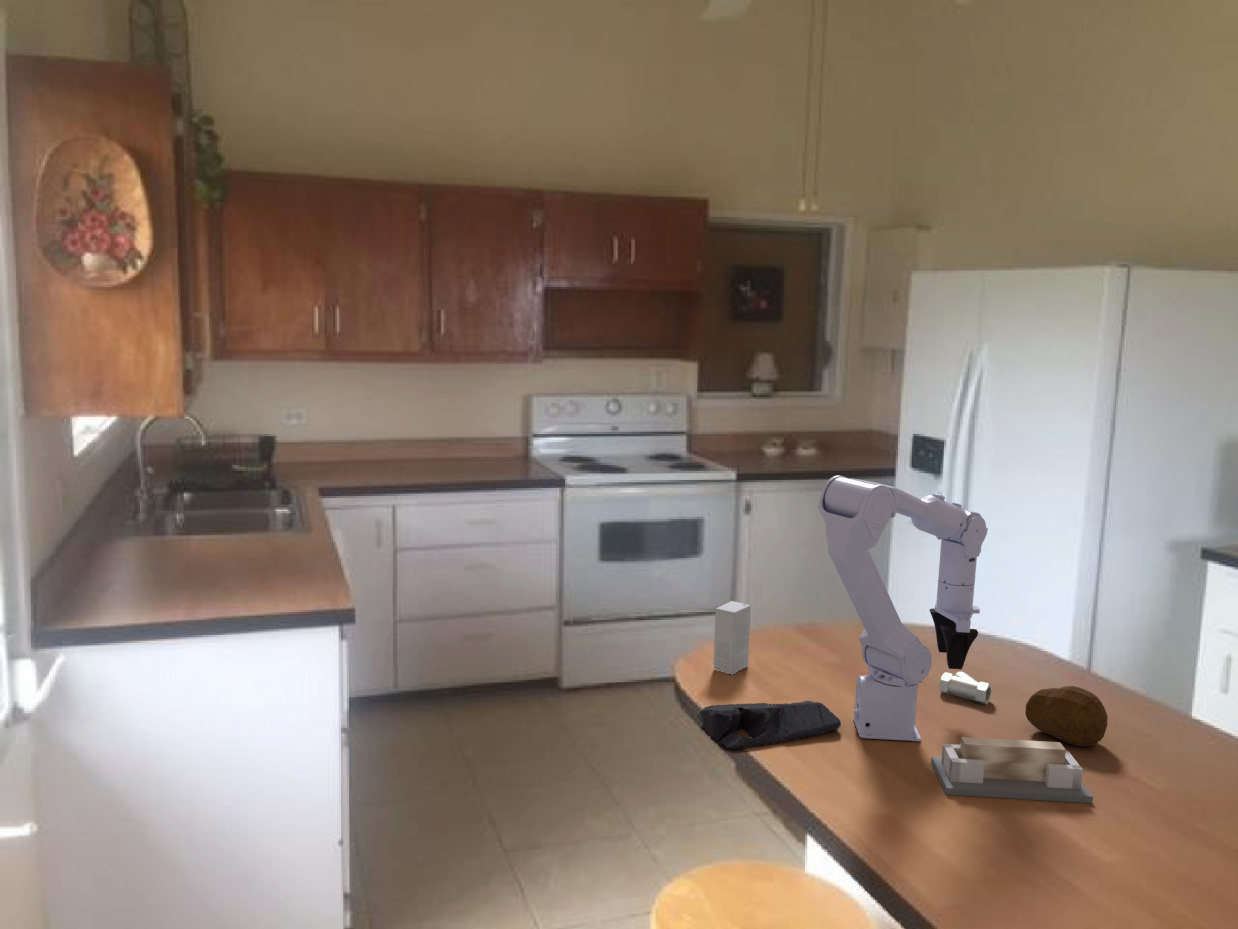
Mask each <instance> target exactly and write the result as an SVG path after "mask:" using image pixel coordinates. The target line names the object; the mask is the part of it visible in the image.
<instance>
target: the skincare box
mask: <svg viewBox="0 0 1238 929" xmlns="http://www.w3.org/2000/svg"><path fill="white" fill-rule="evenodd" d="M714 618H715V619H714V620H715V621H714V643H713V644H714V646H713V648H714V649H713V670H714V669H716V670H719V671H723V672H725V673H728V674H727V675H729V674H731V675H730V676H733V674H734V675H735V674H737V673H739V672H740V671H742V670H744V669H745V668H747V667H748V666H749V654H750V653H749V652H750V627H751V604H746V603H743V602H738V601H734V600H730V601H729V602H727V603H724V604H723V605H720V606H718V607H716V608H715V617H714ZM743 668H744V669H743ZM741 669H742V670H741ZM739 670H740V671H739ZM738 671H739V672H738ZM736 672H737V673H736ZM725 673H724V674H725Z"/></svg>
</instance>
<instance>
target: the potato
mask: <svg viewBox="0 0 1238 929" xmlns="http://www.w3.org/2000/svg"><path fill="white" fill-rule="evenodd" d="M1025 717H1026V719H1027V722H1028V723H1029V724H1031V725H1032V726H1033V727H1034V728H1036V729H1037V730H1038V731H1040V732H1042V733H1043V734H1044V733H1045V734H1047V735H1049V736H1051V737H1054V738H1057V739H1059V740H1060V741H1062V742H1064V743H1066V744H1067V745H1073V746H1082V747H1086V746H1093V745H1095V744H1097V743H1099V742H1101V741H1102V739H1103V738H1104V736H1105V734H1106V730H1107V728H1108V727H1107V726H1108V714H1107V712H1106V708H1105V705H1104V704H1103V702H1102V701H1101V700H1100V698H1099V697H1098V695H1095V693H1093V692H1091V691H1089V690H1087V689H1085V688H1083V687H1078V686H1075V685H1070V686H1069V685H1067V686H1063V687H1061V686H1060V687H1054V688H1053V687H1051V688H1044V689H1043V688H1042V689H1039V690H1038V691H1036V692H1034V693H1033V694H1032V695H1031V696H1030V697H1029V699H1028V700H1027V702H1026V703H1025Z"/></svg>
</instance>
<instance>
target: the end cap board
mask: <svg viewBox="0 0 1238 929" xmlns="http://www.w3.org/2000/svg"><path fill="white" fill-rule="evenodd" d="M941 750H942V751H941V756H931V757H930V760H931V761H930V764H931V766H932V768H933V770H934V772H935V774H936V777H937V778H938V780H939V783H940V784H941V788H942V789H943V791H944V793H945V795H947V796H948V795H949V796H965V797H981V798H999V799H1014V800H1015V799H1017V800H1030V801H1031V800H1034V801H1047V802H1048V801H1050V802H1051V801H1052V802H1064V803H1066V802H1067V803H1083V804H1084V803H1085V804H1093V799H1094V795H1092V793H1091V792H1090V791H1089V789H1088V788H1087V786H1086V785H1085V784H1084V782H1083V780H1082V778H1083V768H1082V766H1081V765H1080V764H1079V763H1078V762H1077V760H1076V759H1075V758H1074V757H1073V755H1072V754H1071V753H1070V751H1069V750H1066V753H1065V762H1064V765H1062V764H1047V769H1046V779H1045V782H1042V781H1025V780H1008V779H991V778H983V776H984V766H985V763H984V762H983V760H975V759H959V756H960V744H951V743H949V744H948V743H943V744H942V749H941Z"/></svg>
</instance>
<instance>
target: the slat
mask: <svg viewBox="0 0 1238 929" xmlns="http://www.w3.org/2000/svg"><path fill="white" fill-rule="evenodd" d="M959 745H960V756H959V759H975V760H983V762H984V763H985V766H984V776H983V778H991V779H1008V780H1025V781H1042V782H1045V779H1046V769H1047V764H1062V765H1064V762H1065V753H1066V751H1067V750H1066V748H1065V747H1064V746H1063V745H1062V743H1061V742H1060V741H1059V742H1058V741H1045V740H1044V741H1041V740H1039V741H1038V740H1025V739H1024V740H1023V739H1008V738H1007V739H1005V738H991V737H990V738H989V737H971V736H960V744H959Z"/></svg>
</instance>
